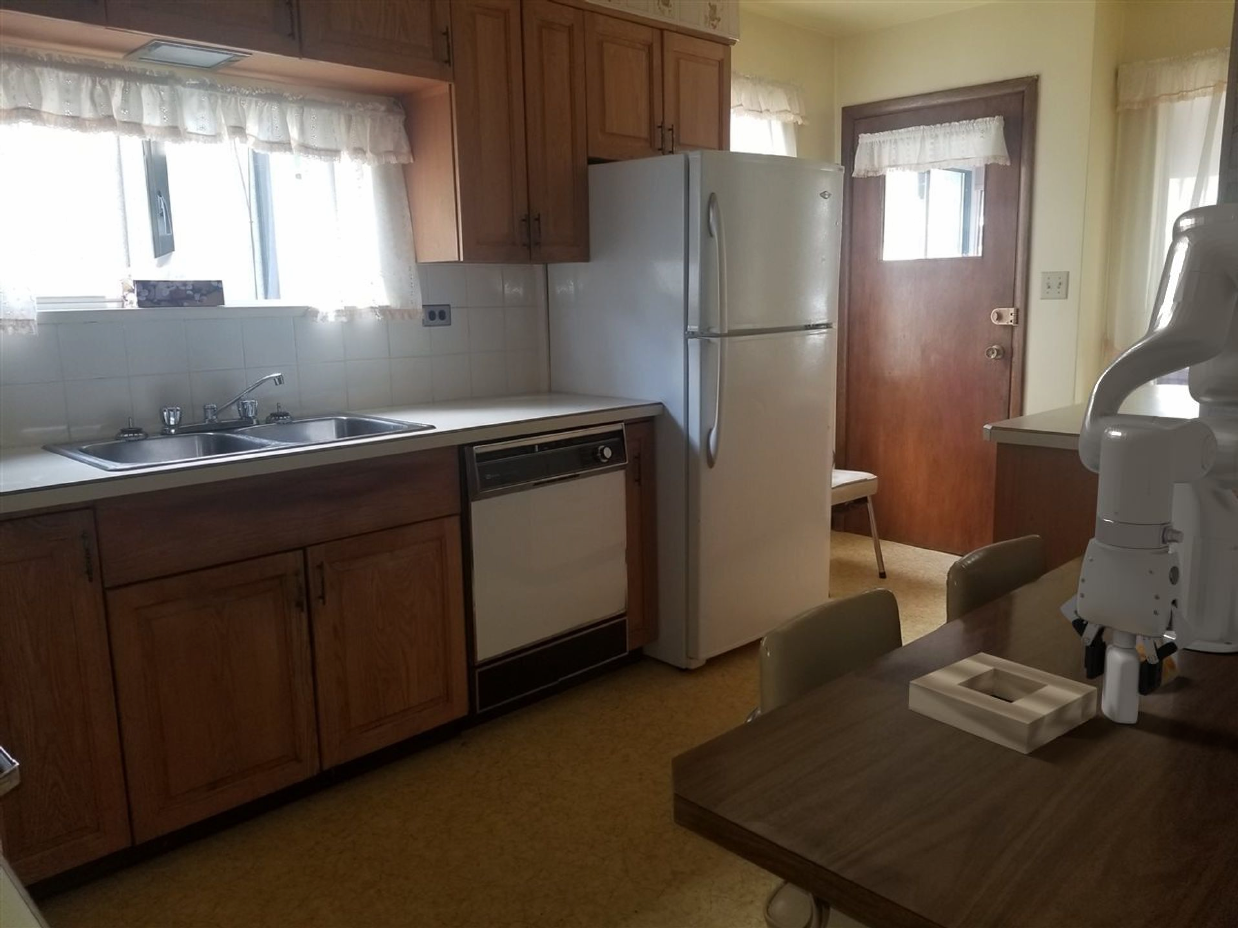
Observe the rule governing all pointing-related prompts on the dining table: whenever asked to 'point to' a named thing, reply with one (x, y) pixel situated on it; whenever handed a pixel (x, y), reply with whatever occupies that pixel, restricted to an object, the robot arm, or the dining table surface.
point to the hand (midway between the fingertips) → (1121, 682)
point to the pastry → (1168, 669)
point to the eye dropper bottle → (1121, 679)
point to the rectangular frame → (1021, 725)
